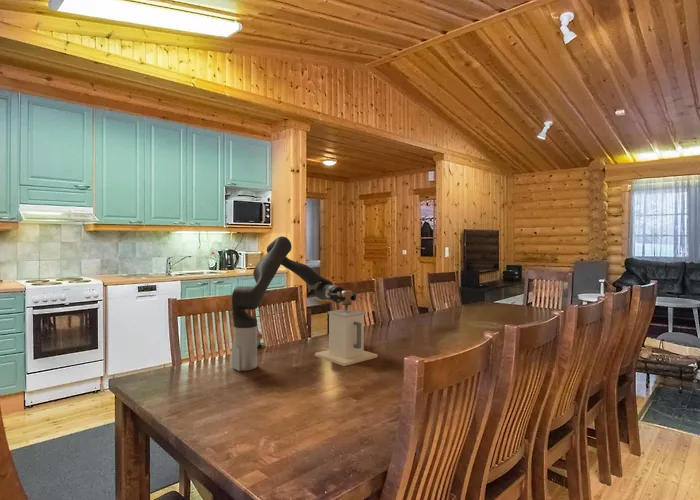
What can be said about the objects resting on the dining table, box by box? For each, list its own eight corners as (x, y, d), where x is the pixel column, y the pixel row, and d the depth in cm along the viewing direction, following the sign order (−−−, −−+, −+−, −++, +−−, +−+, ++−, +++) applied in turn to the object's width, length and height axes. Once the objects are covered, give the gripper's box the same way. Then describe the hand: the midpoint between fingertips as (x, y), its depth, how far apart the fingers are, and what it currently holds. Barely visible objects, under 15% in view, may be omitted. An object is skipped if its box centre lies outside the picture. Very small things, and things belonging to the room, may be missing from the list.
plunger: (345, 347, 192) (345, 293, 191) (332, 343, 199) (332, 290, 198) (360, 343, 198) (360, 291, 197) (346, 340, 205) (347, 289, 204)
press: (344, 366, 184) (344, 318, 184) (314, 355, 199) (315, 311, 198) (377, 357, 198) (378, 312, 197) (347, 348, 213) (348, 306, 212)
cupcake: (252, 349, 210) (252, 323, 209) (240, 346, 215) (240, 321, 214) (266, 345, 216) (266, 321, 216) (254, 342, 221) (254, 318, 221)
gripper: (321, 286, 208) (333, 290, 192) (349, 285, 213) (363, 289, 197) (321, 302, 208) (333, 308, 192) (349, 300, 214) (363, 306, 198)
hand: (348, 298), depth 195 cm, fingers closed on plunger, 4 cm apart
